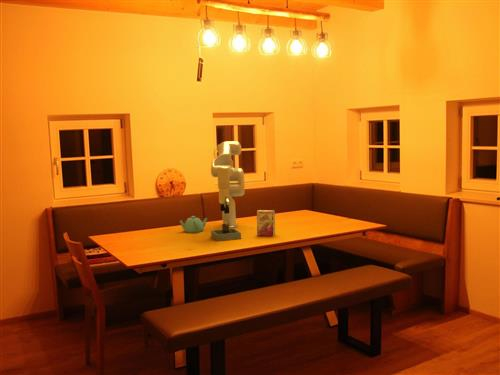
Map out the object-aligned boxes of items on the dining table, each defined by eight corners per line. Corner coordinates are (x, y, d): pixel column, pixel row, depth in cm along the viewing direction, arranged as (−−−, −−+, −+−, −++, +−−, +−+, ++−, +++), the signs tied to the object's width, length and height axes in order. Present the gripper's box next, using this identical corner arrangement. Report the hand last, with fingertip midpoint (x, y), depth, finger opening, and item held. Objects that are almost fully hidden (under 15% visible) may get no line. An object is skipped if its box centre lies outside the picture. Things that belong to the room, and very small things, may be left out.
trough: (211, 236, 341) (211, 230, 341) (234, 234, 346) (234, 228, 345) (216, 241, 326) (216, 234, 326) (241, 238, 331) (240, 232, 330)
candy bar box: (257, 235, 338) (256, 211, 336) (259, 234, 343) (258, 209, 341) (273, 236, 334) (272, 211, 333) (275, 234, 339) (274, 210, 337)
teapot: (178, 233, 358) (177, 217, 357) (189, 228, 372) (188, 214, 371) (198, 233, 352) (197, 218, 351) (208, 229, 366) (207, 214, 365)
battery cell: (221, 235, 337) (221, 222, 336) (228, 235, 339) (227, 221, 338) (223, 237, 333) (222, 223, 332) (230, 236, 334) (229, 222, 333)
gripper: (215, 184, 340) (216, 210, 342) (221, 187, 323) (222, 214, 325) (226, 184, 342) (227, 209, 344) (233, 187, 325) (234, 213, 327)
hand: (225, 212), depth 335 cm, fingers open, 9 cm apart
